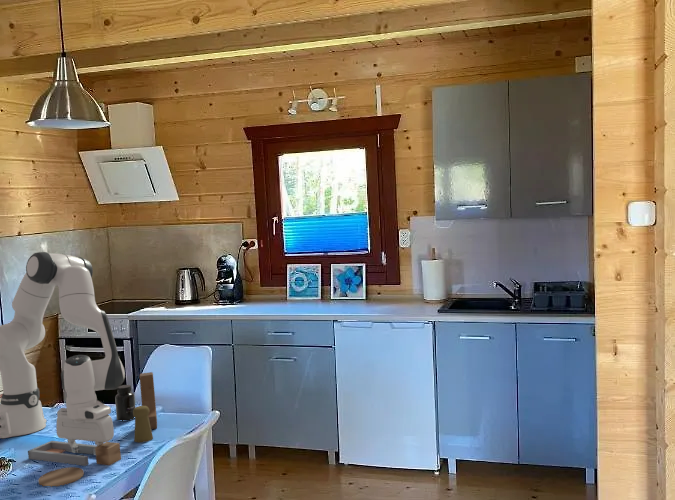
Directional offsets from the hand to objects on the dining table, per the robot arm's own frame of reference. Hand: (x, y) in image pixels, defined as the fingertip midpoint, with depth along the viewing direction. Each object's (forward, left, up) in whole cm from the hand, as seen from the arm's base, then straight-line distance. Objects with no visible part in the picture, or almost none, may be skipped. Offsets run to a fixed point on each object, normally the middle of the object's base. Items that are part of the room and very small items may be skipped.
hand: (86, 453), depth 209 cm
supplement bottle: (-16, +36, -2) cm, 40 cm away
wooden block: (-1, +31, -2) cm, 31 cm away
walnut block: (+8, 0, -2) cm, 9 cm away
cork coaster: (+4, -14, -2) cm, 15 cm away
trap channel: (-8, 0, -2) cm, 8 cm away
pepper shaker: (+6, +19, -2) cm, 20 cm away
